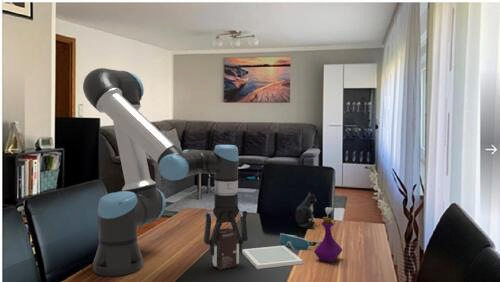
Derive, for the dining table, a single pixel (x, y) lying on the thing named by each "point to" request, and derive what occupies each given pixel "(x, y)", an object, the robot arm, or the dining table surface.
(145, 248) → the dining table surface
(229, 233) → the box
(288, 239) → the sunglasses
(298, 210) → the figurine
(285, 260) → the picture frame
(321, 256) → the perfume bottle
